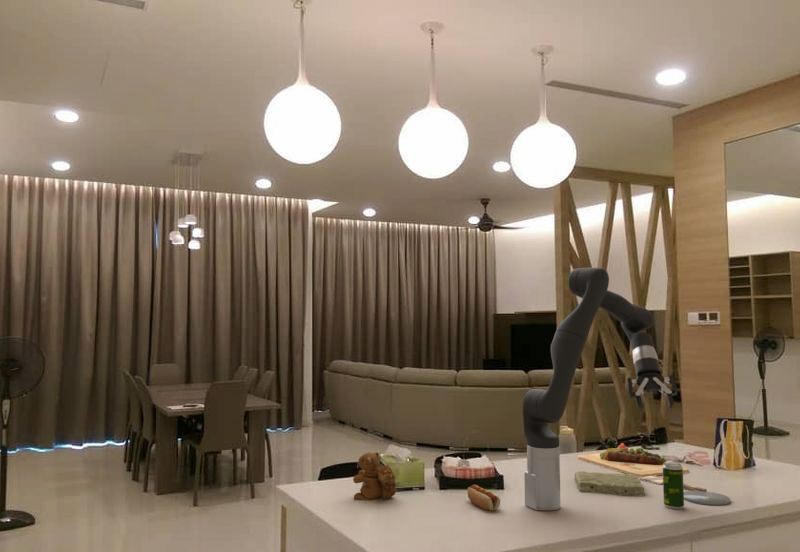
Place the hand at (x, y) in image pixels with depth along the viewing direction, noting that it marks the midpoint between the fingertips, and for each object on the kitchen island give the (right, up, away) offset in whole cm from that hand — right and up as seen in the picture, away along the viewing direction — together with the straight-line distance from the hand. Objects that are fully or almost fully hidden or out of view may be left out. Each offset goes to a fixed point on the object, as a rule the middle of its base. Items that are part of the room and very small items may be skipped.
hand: (656, 407), depth 195 cm
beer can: (0, -26, -13) cm, 29 cm away
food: (-55, -26, -12) cm, 62 cm away
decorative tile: (-12, -28, +9) cm, 32 cm away
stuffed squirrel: (-86, -27, -3) cm, 90 cm away
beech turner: (+10, -28, +11) cm, 32 cm away
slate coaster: (+13, -26, -5) cm, 30 cm away
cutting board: (+8, -31, +42) cm, 53 cm away
